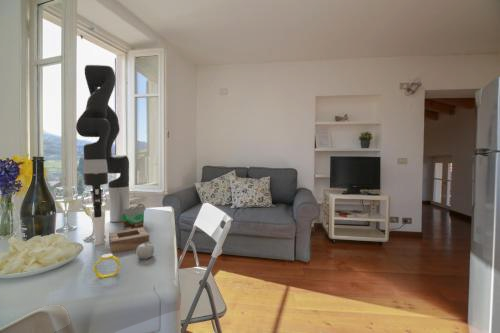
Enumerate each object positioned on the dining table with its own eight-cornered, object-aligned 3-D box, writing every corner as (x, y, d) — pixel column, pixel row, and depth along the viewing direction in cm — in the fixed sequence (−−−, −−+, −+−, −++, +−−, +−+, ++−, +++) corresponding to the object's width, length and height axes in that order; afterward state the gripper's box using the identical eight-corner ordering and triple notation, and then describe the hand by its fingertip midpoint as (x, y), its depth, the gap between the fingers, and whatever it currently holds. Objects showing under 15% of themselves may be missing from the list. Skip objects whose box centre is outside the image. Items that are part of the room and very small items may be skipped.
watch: (120, 273, 69) (120, 252, 69) (118, 277, 66) (119, 256, 66) (95, 275, 67) (96, 254, 66) (93, 280, 64) (93, 258, 64)
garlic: (159, 255, 79) (158, 240, 79) (145, 262, 75) (144, 246, 74) (146, 252, 82) (145, 237, 82) (132, 259, 77) (131, 243, 77)
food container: (134, 232, 103) (133, 209, 103) (122, 232, 105) (121, 209, 104) (151, 224, 115) (151, 203, 115) (140, 224, 117) (139, 203, 116)
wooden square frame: (109, 243, 92) (108, 232, 92) (143, 236, 98) (142, 226, 98) (111, 253, 82) (111, 242, 82) (149, 245, 88) (148, 234, 88)
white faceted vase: (96, 246, 89) (94, 205, 88) (90, 244, 91) (88, 204, 90) (109, 242, 93) (107, 203, 92) (103, 240, 95) (101, 202, 94)
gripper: (84, 171, 94) (86, 212, 95) (83, 173, 82) (85, 220, 83) (106, 170, 98) (108, 210, 99) (108, 172, 86) (110, 217, 87)
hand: (97, 214), depth 91 cm, fingers open, 8 cm apart
